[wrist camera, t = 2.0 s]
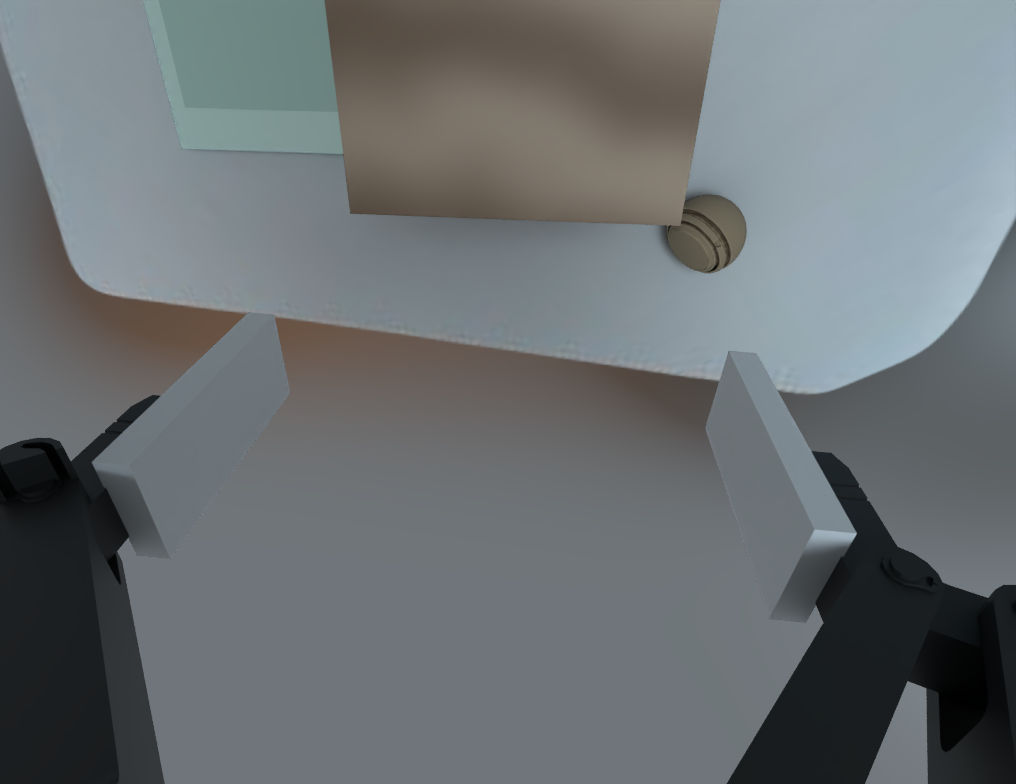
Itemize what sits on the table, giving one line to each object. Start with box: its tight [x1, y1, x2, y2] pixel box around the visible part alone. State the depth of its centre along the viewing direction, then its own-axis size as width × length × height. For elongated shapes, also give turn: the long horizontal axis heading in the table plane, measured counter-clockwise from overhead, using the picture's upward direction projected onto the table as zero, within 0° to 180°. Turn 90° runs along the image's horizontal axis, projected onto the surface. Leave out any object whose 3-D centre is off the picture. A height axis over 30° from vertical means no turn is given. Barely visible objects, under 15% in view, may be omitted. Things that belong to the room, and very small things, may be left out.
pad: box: [143, 0, 343, 154], centre depth 34 cm, size 14×14×1 cm
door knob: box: [667, 195, 746, 273], centre depth 37 cm, size 5×5×5 cm
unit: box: [324, 0, 721, 226], centre depth 28 cm, size 13×14×16 cm
